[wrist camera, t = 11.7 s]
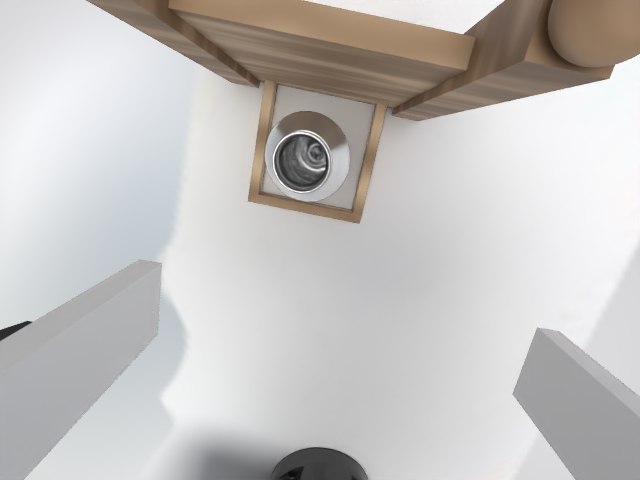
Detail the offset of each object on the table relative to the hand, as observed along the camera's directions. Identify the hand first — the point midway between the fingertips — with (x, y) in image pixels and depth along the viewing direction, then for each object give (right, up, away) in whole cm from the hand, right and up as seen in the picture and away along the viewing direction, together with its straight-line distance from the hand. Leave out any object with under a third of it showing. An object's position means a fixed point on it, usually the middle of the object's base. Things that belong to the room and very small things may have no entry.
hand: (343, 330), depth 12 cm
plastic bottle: (-1, +13, +28) cm, 31 cm away
